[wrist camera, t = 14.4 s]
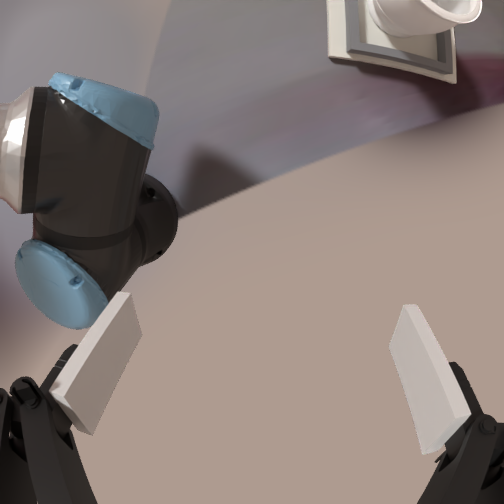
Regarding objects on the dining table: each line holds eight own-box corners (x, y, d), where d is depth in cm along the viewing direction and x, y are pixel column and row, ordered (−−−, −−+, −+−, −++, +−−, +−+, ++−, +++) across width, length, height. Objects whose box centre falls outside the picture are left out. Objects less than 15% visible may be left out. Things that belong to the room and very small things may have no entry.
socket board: (328, 57, 32) (332, 52, 29) (323, -43, 24) (326, -54, 21) (452, 83, 31) (465, 83, 28) (444, -12, 23) (454, -18, 20)
